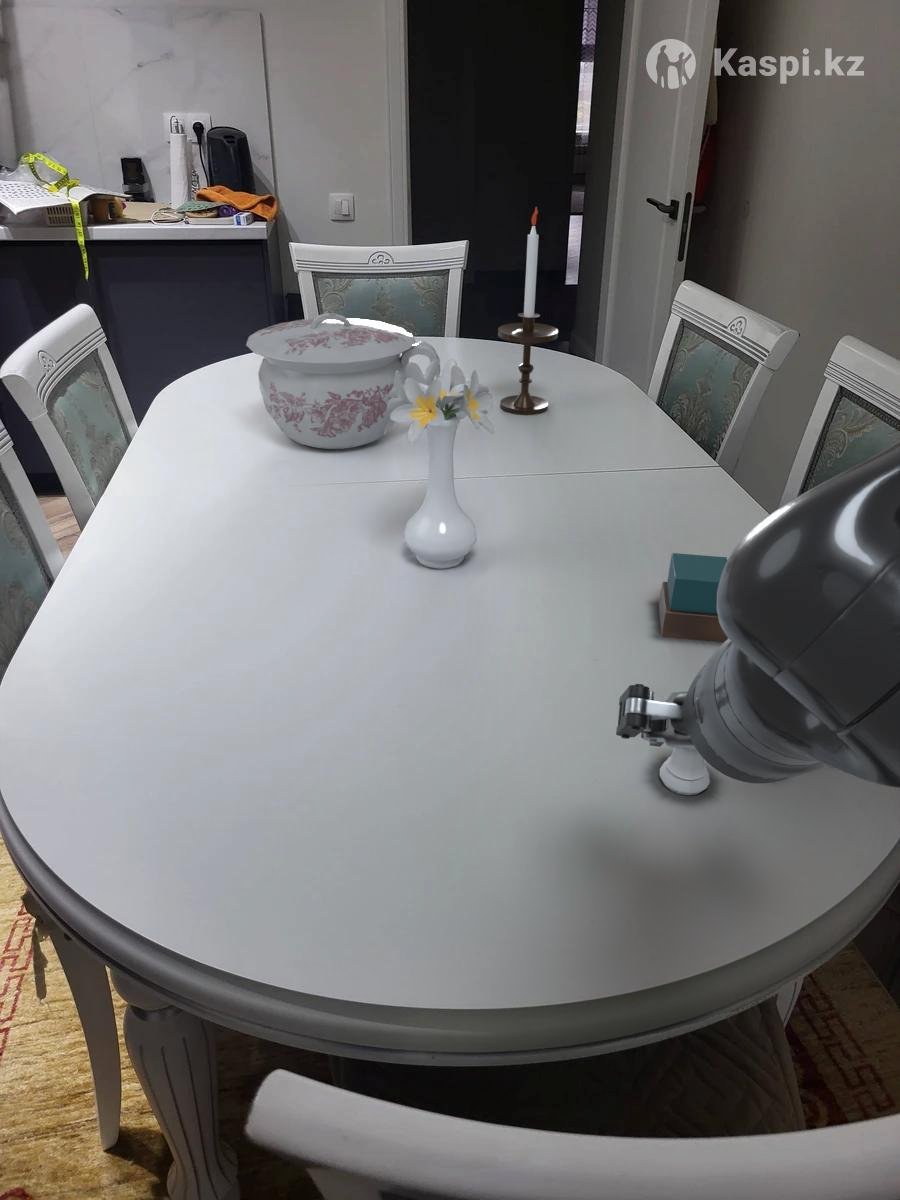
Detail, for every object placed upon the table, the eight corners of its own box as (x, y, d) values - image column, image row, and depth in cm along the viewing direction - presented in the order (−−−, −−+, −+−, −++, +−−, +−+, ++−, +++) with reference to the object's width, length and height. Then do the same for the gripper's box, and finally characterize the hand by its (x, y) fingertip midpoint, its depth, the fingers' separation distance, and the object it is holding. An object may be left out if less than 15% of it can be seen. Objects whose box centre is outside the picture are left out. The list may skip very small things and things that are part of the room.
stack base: (719, 616, 103) (724, 586, 101) (725, 649, 97) (731, 618, 95) (657, 611, 104) (662, 581, 102) (660, 643, 98) (665, 612, 96)
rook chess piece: (713, 806, 76) (729, 732, 72) (661, 805, 76) (674, 731, 72) (701, 771, 80) (716, 699, 76) (652, 770, 80) (664, 698, 76)
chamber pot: (222, 437, 152) (207, 313, 142) (341, 400, 170) (335, 288, 160) (333, 480, 137) (326, 344, 126) (451, 435, 155) (453, 313, 144)
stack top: (720, 588, 101) (726, 557, 99) (726, 615, 96) (733, 583, 94) (667, 583, 102) (671, 552, 100) (669, 610, 97) (675, 578, 95)
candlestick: (560, 414, 165) (575, 209, 147) (503, 418, 163) (512, 210, 145) (542, 396, 174) (555, 202, 156) (488, 399, 172) (495, 202, 154)
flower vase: (479, 524, 124) (484, 343, 111) (495, 589, 108) (504, 386, 95) (385, 526, 123) (380, 343, 110) (388, 592, 107) (382, 388, 94)
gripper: (919, 648, 45) (829, 697, 61) (636, 618, 48) (618, 673, 63) (917, 797, 44) (824, 809, 59) (622, 758, 46) (608, 779, 61)
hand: (718, 738), depth 61 cm, fingers open, 8 cm apart
